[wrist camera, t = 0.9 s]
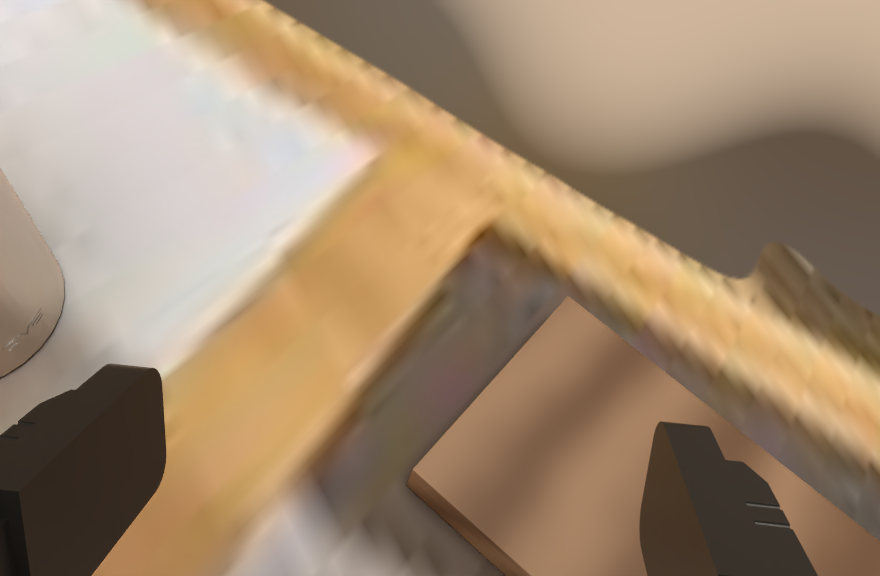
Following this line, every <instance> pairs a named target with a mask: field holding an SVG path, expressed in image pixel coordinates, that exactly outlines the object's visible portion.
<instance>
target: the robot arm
mask: <svg viewBox="0 0 880 576" xmlns="http://www.w3.org/2000/svg"><path fill="white" fill-rule="evenodd" d="M63 301H64V279H63V275H62V272H61V269H60V266H59V264H58V262H57V260H56V259H55V257H54V255H53V254H52V252H51V250H50V249H49V247H48V245H47V244H46V242H45V241H44V239H43V237H42V236H41V234H40V232H39V231H38V229H37V227H36V226H35V224H34V223H33V221H32V219H31V217H30V215H29V214H28V212H27V210H26V209H25V207H24V206H23V204H22V202H21V201H20V199H19V197H18V196H17V194H16V193H15V191H14V189H13V188H12V186H11V185H10V183H9V181H8V180H7V178H6V176H5V175H4V173H3V172H2V170H1V168H0V377H2V376H4V375H6V374H7V373H9V372H10V371H12V370H14V369H15V368H17V367H18V366H20V365H21V364H23V363H24V362H25V361H26V360H28V359H29V358H30V357H31V356H32V355H33V354H34V353H35V352H36V351H37V350H38V349H40V347H41V346H42V345H43V343H44V342H45V341H46V339H47V338H48V337H49V335H50V334H51V333H52V331H53V329H54V327H55V325H56V323H57V321H58V319H59V317H60V315H61V310H62V306H63ZM165 464H166V440H165V424H164V408H163V393H162V381H161V377H160V374H159V372H158V371H157V370H156V369H154V368H147V367H137V366H128V365H118V364H107V365H105V366H104V367H103V368H101V369H100V370H99V371H98V372H97V373H95V374H94V375H93V376H92V377H91V378H89V379H88V380H87V381H86V382H85V383H83V384H82V385H81V386H80V387H79V388H77V389H76V390H69V391H67V392H65V393H63V394H60V395H58V396H56V397H54V398H51V399H49V400H47V401H44V402H42V403H40V404H39V405H37V406H36V407H35V408H34V409H33V410H31V411H30V412H29V413H28V414H26V415H25V416H24V417H23V418H21V419H20V420H19V421H18V425H13V426H11V427H10V428H9V429H8V430H6V431H5V432H4V433H3V434H1V435H0V576H91V575H92V574H93V573H94V571H95V570H96V569H97V568H98V566H99V565H100V564H101V562H102V561H103V560H104V558H105V557H106V556H107V555H108V553H109V552H110V551H111V549H112V548H113V547H114V545H115V544H116V543H117V541H118V540H119V539H120V538H121V536H122V535H123V534H124V532H125V531H126V530H127V528H128V527H129V526H130V525H131V523H132V522H133V521H134V519H135V518H136V517H137V515H138V514H139V513H140V511H141V510H142V509H143V508H144V506H145V505H146V504H147V502H148V501H149V500H150V498H151V497H152V496H153V495H154V493H155V492H156V490H157V489H158V487H159V485H160V482H161V480H162V477H163V473H164V469H165ZM639 532H640V545H641V550H642V555H643V559H644V563H645V567H646V572H647V576H818V575H817V573H816V571H815V569H814V567H813V565H812V564H811V562H810V560H809V558H808V556H807V554H806V553H805V551H804V549H803V547H802V545H801V543H800V541H799V540H798V538H797V536H796V534H795V532H794V530H793V529H790V523H789V521H788V519H787V517H786V516H785V514H784V512H783V510H780V504H779V503H778V501H777V499H776V497H775V495H774V493H773V491H772V490H771V488H770V486H769V484H768V482H766V481H765V480H764V479H763V478H762V477H760V476H759V475H758V474H757V473H756V472H755V471H753V470H752V469H751V468H750V467H749V466H748V465H746V464H745V463H744V462H741V461H731V460H725V458H724V456H723V454H722V451H721V449H720V447H719V445H718V443H717V441H716V439H715V437H714V435H713V432H712V430H711V429H710V427H708V426H701V425H691V424H682V423H672V422H662V421H660V422H659V423H658V424H657V426H656V429H655V432H654V437H653V442H652V448H651V453H650V459H649V464H648V470H647V476H646V481H645V487H644V492H643V498H642V503H641V510H640V524H639Z"/></svg>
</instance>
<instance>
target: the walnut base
mask: <svg viewBox="0 0 880 576" xmlns="http://www.w3.org/2000/svg"><path fill="white" fill-rule="evenodd" d="M660 421H662V422H672V423H682V424H691V425H701V426H708V427H710V429H711V430H712V432H713V435H714V437H715V439H716V441H717V443H718V445H719V447H720V449H721V451H722V454H723V456H724V458H725V460H731V461H741V462H744V463H745V464H746V465H748V466H749V467H750V468H751V469H752V470H753V471H755V472H756V473H757V474H758V475H759V476H760V477H762V478H763V479H764V480H765V481H766V482H768V484H769V486H770V488H771V490H772V491H773V493H774V495H775V497H776V499H777V501H778V503H779V504H780V510H783V512H784V514H785V516H786V517H787V519H788V521H789V523H790V529H793V530H794V532H795V534H796V536H797V538H798V540H799V541H800V543H801V545H802V547H803V549H804V551H805V553H806V554H807V556H808V558H809V560H810V562H811V564H812V565H813V567H814V569H815V571H816V573H817V575H818V576H880V541H879V540H878V539H876V538H875V537H874V536H873V535H871V534H870V533H869V532H867V531H866V530H865V529H864V528H862V527H861V526H860V525H859V524H857V523H856V522H855V521H853V520H852V519H851V518H850V517H848V516H847V515H846V514H845V513H843V512H842V511H841V510H840V509H838V508H837V507H836V506H834V505H833V504H832V503H831V502H829V501H828V500H827V499H826V498H824V497H823V496H822V495H820V494H819V493H818V492H817V491H815V490H814V489H813V488H812V487H810V486H809V485H808V484H806V483H805V482H804V481H803V480H801V479H800V478H799V477H798V476H796V475H795V474H794V473H793V472H791V471H790V470H789V469H787V468H786V467H785V466H784V465H782V464H781V463H780V462H779V461H777V460H776V459H775V458H773V457H772V456H771V455H770V454H768V453H767V452H766V451H765V450H763V449H762V448H761V447H759V446H758V445H757V444H756V443H754V442H753V441H752V440H751V439H749V438H748V437H747V436H746V435H744V434H743V433H742V432H740V431H739V430H738V429H737V428H735V427H734V426H733V425H732V424H730V423H729V422H728V421H726V420H725V419H724V418H723V417H721V416H720V415H719V414H718V413H716V412H715V411H714V410H712V409H711V408H710V407H709V406H707V405H706V404H705V403H704V402H702V401H701V400H700V399H699V398H697V397H696V396H695V395H693V394H692V393H691V392H690V391H688V390H687V389H686V388H685V387H683V386H682V385H681V384H679V383H678V382H677V381H676V380H674V379H673V378H672V377H671V376H669V375H668V374H667V373H666V372H664V371H663V370H662V369H660V368H659V367H658V366H657V365H655V364H654V363H653V362H652V361H650V360H649V359H648V358H646V357H645V356H644V355H643V354H641V353H640V352H639V351H638V350H636V349H635V348H634V347H632V346H631V345H630V344H629V343H627V342H626V341H625V340H624V339H622V338H621V337H620V336H619V335H617V334H616V333H615V332H613V331H612V330H611V329H610V328H608V327H607V326H606V325H605V324H603V323H602V322H601V321H599V320H598V319H597V318H596V317H594V316H593V315H592V314H591V313H589V312H588V311H587V310H585V309H584V308H583V307H582V306H580V305H579V304H578V303H577V302H575V301H574V300H573V299H572V298H570V297H569V296H568V297H567V298H566V299H565V300H564V301H563V302H562V303H561V304H560V306H559V307H558V308H557V309H556V310H555V311H554V312H553V313H552V315H551V316H550V317H549V318H548V319H547V320H546V321H545V322H544V323H543V325H542V326H541V327H540V328H539V329H538V330H537V331H536V332H535V333H534V335H533V336H532V337H531V338H530V339H529V340H528V341H527V342H526V344H525V345H524V346H523V347H522V348H521V349H520V350H519V351H518V352H517V354H516V355H515V356H514V357H513V358H512V359H511V360H510V361H509V362H508V364H507V365H506V366H505V367H504V368H503V369H502V370H501V371H500V373H499V374H498V375H497V376H496V377H495V378H494V379H493V380H492V381H491V383H490V384H489V385H488V386H487V387H486V388H485V389H484V390H483V391H482V393H481V394H480V395H479V396H478V397H477V398H476V399H475V400H474V402H473V403H472V404H471V405H470V406H469V407H468V408H467V409H466V410H465V412H464V413H463V414H462V415H461V416H460V417H459V418H458V419H457V420H456V422H455V423H454V424H453V425H452V426H451V427H450V428H449V429H448V431H447V432H446V433H445V434H444V435H443V436H442V437H441V438H440V439H439V441H438V442H437V443H436V444H435V445H434V446H433V447H432V448H431V449H430V451H429V452H428V453H427V454H426V455H425V456H424V457H423V458H422V460H421V461H420V462H419V463H418V464H417V465H416V466H415V467H414V468H413V470H412V472H411V475H410V478H409V480H408V483H407V485H406V486H407V487H409V488H410V489H411V490H412V491H413V492H414V493H415V494H416V495H417V496H418V497H420V498H421V499H422V500H423V501H424V502H425V503H426V504H427V505H428V506H429V507H431V508H432V509H433V510H434V511H435V512H436V513H437V514H438V515H439V516H440V517H442V518H443V519H444V520H445V521H446V522H447V523H448V524H449V525H450V526H452V527H453V528H454V529H455V530H456V531H457V532H458V533H459V534H460V535H461V536H463V537H464V538H465V539H466V540H467V541H468V542H469V543H470V544H471V545H472V546H474V547H475V548H476V549H477V550H478V551H479V552H480V553H481V554H482V555H483V556H485V557H486V558H487V559H488V560H489V561H490V562H491V563H492V564H493V565H495V566H496V567H497V568H498V569H499V570H500V571H501V572H502V573H503V574H504V575H506V576H647V572H646V567H645V563H644V559H643V555H642V550H641V545H640V532H639V524H640V510H641V503H642V498H643V492H644V487H645V481H646V476H647V470H648V464H649V459H650V453H651V448H652V442H653V437H654V432H655V429H656V426H657V424H658V423H659V422H660Z"/></svg>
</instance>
